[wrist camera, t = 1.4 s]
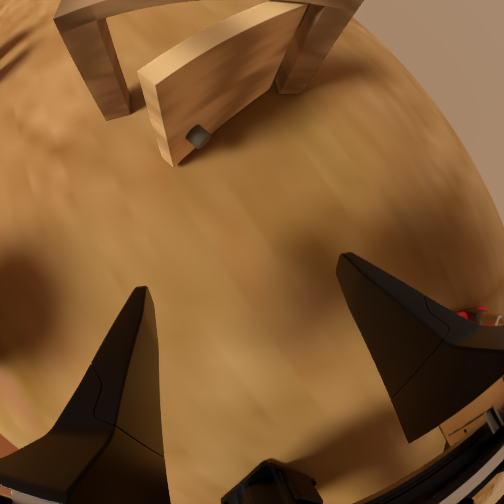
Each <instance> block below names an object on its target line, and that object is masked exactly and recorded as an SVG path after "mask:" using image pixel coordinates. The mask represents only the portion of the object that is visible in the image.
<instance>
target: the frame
mask: <svg viewBox="0 0 504 504" xmlns="http://www.w3.org/2000/svg"><path fill="white" fill-rule="evenodd" d="M188 1H198V0H61V2H60V4H59V7H58V9H57V11H56V14H55V16H54V18H53V20H54V22H55V24H56V26H57V28H58V30H59V32H60V35H61V37H62V39H63V41H64V43H65V45H66V47H67V49H68V51H69V53H70V55H71V57H72V59H73V61H74V62H75V64H76V66H77V68H78V70H79V72H80V74H81V76H82V78H83V80H84V81H85V83H86V85H87V87H88V89H89V91H90V92H91V94H92V96H93V98H94V100H95V101H96V103H97V105H98V107H99V109H100V110H101V112H102V114H103V116H104V117H105V119H106V121H107V120H111V119H114V118H118V117H122V116H126V115H130V94H129V91H128V88H127V85H126V82H125V79H124V76H123V73H122V70H121V67H120V64H119V61H118V58H117V55H116V51H115V48H114V45H113V42H112V39H111V35H110V32H109V29H108V25H107V22H106V18H107V17H110V16H114V15H118V14H121V13H125V12H130V11H134V10H138V9H143V8H148V7H153V6H159V5H165V4H172V3H179V2H188ZM284 1H294V2H302V3H310V7H309V9H308V11H307V13H306V15H305V17H304V19H303V21H302V23H301V25H300V27H299V28H297V29H296V31H295V33H294V35H293V38H292V40H291V42H290V44H289V46H288V48H287V51H286V53H285V55H284V57H283V59H282V62H281V68H280V70H279V72H278V75H277V77H276V79H275V83H276V86H277V89H278V92H279V94H302V92H303V91H304V89H305V88H306V86H307V85H308V83H309V81H310V80H311V78H312V77H313V75H314V74H315V72H316V70H317V69H318V67H319V66H320V64H321V63H322V61H323V60H324V58H325V57H326V55H327V54H328V52H329V51H330V49H331V48H332V46H333V45H334V43H335V42H336V40H337V39H338V37H339V36H340V34H341V33H342V31H343V30H344V28H345V27H346V25H347V24H348V22H349V21H350V19H351V18H352V17H353V15H354V14H355V12H356V11H357V9H358V8H359V6H360V5H361V4H362V2H363V1H364V0H284Z"/></svg>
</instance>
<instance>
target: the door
mask: <svg viewBox="0 0 504 504" xmlns="http://www.w3.org/2000/svg"><path fill="white" fill-rule="evenodd" d="M309 7H310V3H302V2H294V1H284V0H270V1H268V2H265V3H262V4H260V5H257V6H255V7H252V8H250V9H247V10H245V11H243V12H240V13H238V14H236V15H233V16H231V17H229V18H227V19H225V20H223V21H221V22H219V23H216V24H214V25H212V26H210V27H209V28H207V29H205V30H203V31H201V32H199V33H197V34H195V35H194V36H192V37H190V38H188V39H186V40H185V41H183V42H181V43H180V44H178V45H176V46H175V47H173V48H171V49H170V50H168V51H167V52H165V53H163V54H162V55H160V56H159V57H157V58H156V59H154V60H153V61H151V62H150V63H148V64H147V65H145V66H144V67H143V68H141V69H140V70H138V71H137V72H138V76H139V80H140V84H141V87H142V91H143V95H144V98H145V102H146V105H147V109H148V112H149V116H150V119H151V123H152V126H153V129H154V133H155V136H156V139H157V142H158V146H159V149H160V152H161V155H162V157H163V158H164V159H165V160H166V161H167V162H168V163H169V164H170V165H171V166H172V167H173V168H174V167H175V166H176V165H177V164H178V163H179V162H180V161H181V160H182V159H183V158H184V157H185V156H187V155H188V154H189V153H190V152H191V151H192V150H193V149H194V148H197V149H201V148H202V147H204V146H205V145H206V144H207V143H208V141H209V140H210V138H211V136H212V135H211V134H212V133H213V132H214V131H215V130H217V129H218V128H219V127H220V126H222V125H223V124H224V123H225V122H226V121H228V120H229V119H230V118H231V117H233V116H234V115H235V114H237V113H238V112H239V111H240V110H242V109H243V108H244V107H246V106H247V105H248V104H250V103H251V102H252V101H254V100H255V99H256V98H258V97H259V96H260V95H262V94H263V93H264V92H266V91H267V90H269V89H270V87H271V84H272V83H273V82H274V81H275V79H276V77H277V75H278V72H279V70H280V68H281V62H282V59H283V57H284V55H285V53H286V51H287V48H288V46H289V44H290V42H291V40H292V38H293V35H294V33H295V31H296V29H297V28H299V27H300V25H301V23H302V21H303V19H304V17H305V15H306V13H307V11H308V9H309Z"/></svg>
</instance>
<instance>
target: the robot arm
mask: <svg viewBox="0 0 504 504" xmlns="http://www.w3.org/2000/svg"><path fill="white" fill-rule="evenodd" d="M336 275H337V278H338V281H339V283H340V286H341V289H342V291H343V294H344V297H345V299H346V302H347V305H348V307H349V310H350V312H351V314H352V316H353V318H354V320H355V322H356V324H357V326H358V328H359V330H360V332H361V334H362V337H363V339H364V341H365V343H366V345H367V347H368V349H369V351H370V354H371V356H372V358H373V360H374V362H375V364H376V367H377V369H378V371H379V373H380V376H381V378H382V380H383V382H384V385H385V387H386V389H387V392H388V394H389V396H390V399H391V401H392V404H393V406H394V409H395V411H396V414H397V416H398V418H399V421H400V423H401V426H402V428H403V431H404V434H405V436H406V439H407V441H408V443H411V442H413V441H414V440H416V439H418V438H419V437H421V436H423V435H424V434H426V433H428V432H429V431H431V430H433V429H434V428H436V427H437V426H439V428H440V430H441V432H442V434H443V436H444V438H445V440H446V444H445V448H444V452H443V453H441V454H440V455H439V456H437V457H436V458H434V459H433V460H431V461H430V462H428V463H427V464H425V465H424V466H422V467H421V468H419V469H418V470H416V471H415V472H413V473H411V474H410V475H408V476H406V477H405V478H403V479H401V480H399V481H398V482H396V483H394V484H392V485H390V486H388V487H387V488H385V489H383V490H381V491H379V492H377V493H375V494H373V495H371V496H369V497H366V498H364V499H362V500H360V501H358V502H355V503H353V504H475V502H474V500H473V499H471V498H472V497H474V496H475V495H476V494H477V493H478V492H479V491H480V490H481V489H482V488H483V487H484V486H485V485H486V484H487V483H488V482H489V481H490V480H491V479H492V478H493V477H494V476H495V475H496V474H498V473H500V472H503V471H504V325H499V326H482V325H478V324H476V323H474V322H472V321H470V320H468V319H466V318H464V317H463V316H461V315H459V314H457V313H455V312H453V311H451V310H449V309H448V308H446V307H444V306H442V305H440V304H439V303H437V302H435V301H434V300H432V299H430V298H429V297H427V296H426V295H423V294H422V293H420V292H419V291H417V290H416V289H414V288H412V287H411V286H409V285H407V284H406V283H404V282H402V281H400V280H399V279H397V278H395V277H394V276H392V275H390V274H389V273H387V272H385V271H383V270H382V269H380V268H378V267H376V266H375V265H373V264H371V263H369V262H368V261H366V260H364V259H362V258H361V257H359V256H357V255H355V254H353V253H351V252H347V253H342V254H341V255H340V256H339V260H338V264H337V268H336ZM91 363H92V364H90V366H89V368H88V370H87V372H86V373H85V375H84V377H83V379H82V381H81V383H80V384H79V386H78V388H77V389H76V391H75V393H74V394H73V396H72V398H71V399H70V401H69V402H68V404H67V405H66V407H65V409H64V410H63V412H62V413H61V415H60V417H59V418H58V420H57V421H56V423H55V425H54V426H53V427H52V429H51V430H50V431H49V432H48V433H47V434H46V435H44V436H43V437H41V438H40V439H38V440H36V441H34V442H32V443H30V444H29V445H27V446H25V447H23V448H21V449H19V450H18V451H16V452H14V453H12V454H10V455H8V456H6V457H3V458H0V486H3V487H5V488H7V489H10V490H11V494H12V497H10V496H7V495H4V494H1V493H0V504H171V502H170V496H169V489H168V482H167V475H166V466H165V459H164V449H163V438H162V426H161V410H160V390H159V348H158V338H157V329H156V319H155V309H154V303H153V300H152V297H151V295H150V292H149V289H148V287H147V286H139V287H136V288H135V289H134V290H133V292H132V293H131V295H130V297H129V298H128V300H127V301H126V303H125V305H124V306H123V308H122V310H121V311H120V313H119V315H118V316H117V318H116V320H115V321H114V323H113V325H112V327H111V328H110V330H109V332H108V334H107V335H106V337H105V339H104V341H103V342H102V344H101V346H100V348H99V350H98V351H97V353H96V355H95V357H94V359H93V361H92V362H91ZM264 467H266V468H264ZM315 485H316V481H315V479H312V478H309V477H308V476H307V475H305V474H302V473H299V472H296V471H293V470H291V469H284V468H281V467H278V466H276V465H273V464H271V463H268V462H263V463H261V464H260V465H259V466H258V467H256V468H255V469H254V470H253V471H252V472H251V473H250V474H249V475H248V476H247V477H246V478H245V479H243V480H242V481H241V482H240V483H239V484H238V485H237V486H235V487H234V488H233V489H232V490H231V491H230V492H228V493H227V494H226V495H225V496H224V497H222V498H221V504H323V500H322V498H321V497H320V495H319V493H318V492H317V490H316V489H315V487H314V486H315ZM496 504H504V495H503V496H502V497H501V498H500V499H499V500H498V501H497V503H496Z"/></svg>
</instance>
